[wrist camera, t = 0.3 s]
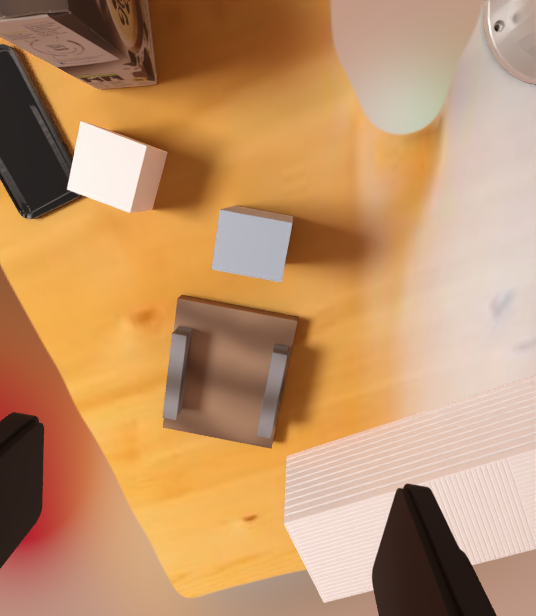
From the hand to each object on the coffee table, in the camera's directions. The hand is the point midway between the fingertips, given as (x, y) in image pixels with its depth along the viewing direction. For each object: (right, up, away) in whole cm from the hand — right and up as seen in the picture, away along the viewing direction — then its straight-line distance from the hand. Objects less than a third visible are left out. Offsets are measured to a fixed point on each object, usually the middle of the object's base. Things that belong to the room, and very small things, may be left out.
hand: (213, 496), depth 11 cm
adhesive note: (-12, +19, +31) cm, 38 cm away
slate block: (+1, +12, +32) cm, 34 cm away
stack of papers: (+21, -12, +38) cm, 45 cm away
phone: (-23, +22, +31) cm, 45 cm away
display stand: (-3, -2, +36) cm, 37 cm away
